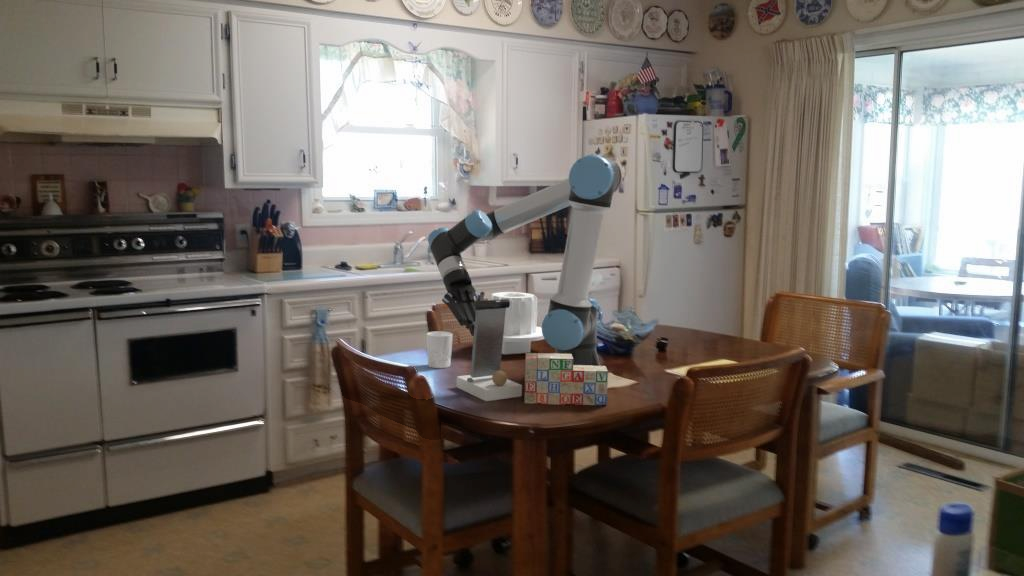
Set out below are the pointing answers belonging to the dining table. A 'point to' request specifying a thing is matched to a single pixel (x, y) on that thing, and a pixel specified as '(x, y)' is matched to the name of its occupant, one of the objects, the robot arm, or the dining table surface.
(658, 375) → the dining table surface
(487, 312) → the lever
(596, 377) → the stack of blocks
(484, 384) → the white slotted base
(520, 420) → the dining table surface
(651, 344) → the dining table surface
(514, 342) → the ribbed cylinder on disc
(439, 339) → the white cup
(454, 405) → the dining table surface
